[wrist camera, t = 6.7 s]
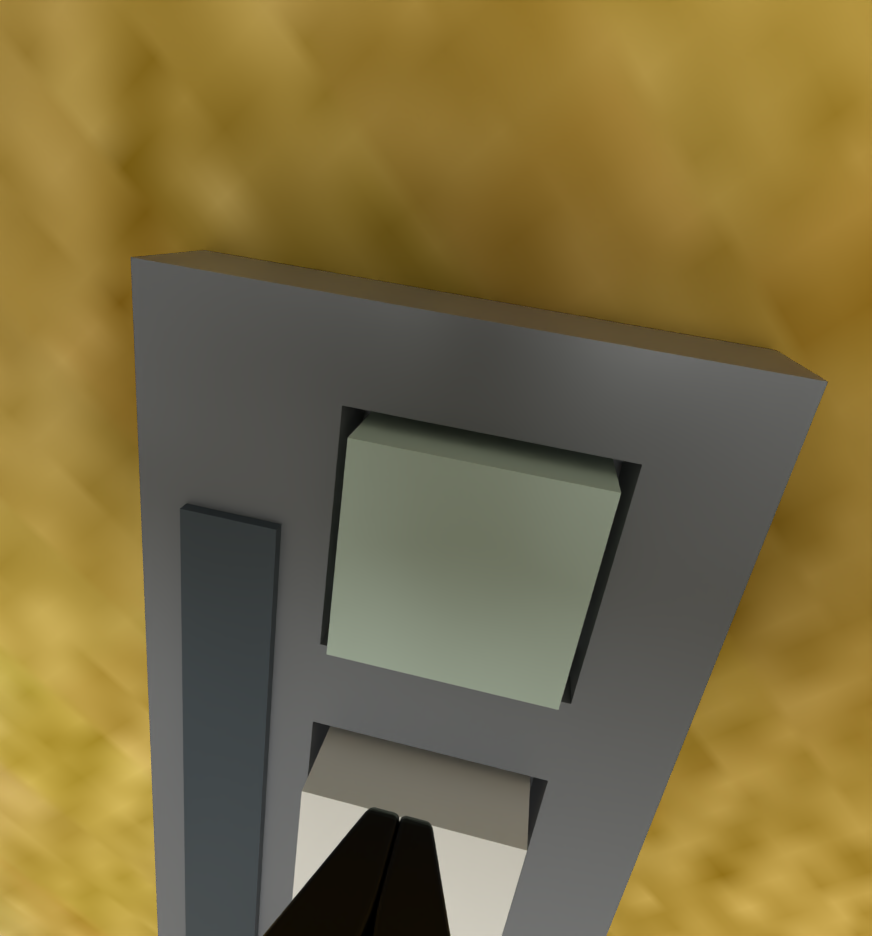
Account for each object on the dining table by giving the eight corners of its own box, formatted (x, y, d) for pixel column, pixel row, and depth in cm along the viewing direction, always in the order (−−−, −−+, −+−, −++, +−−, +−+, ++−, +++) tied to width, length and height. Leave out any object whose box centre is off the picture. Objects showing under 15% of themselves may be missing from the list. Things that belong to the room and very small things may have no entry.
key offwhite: (318, 854, 20) (289, 933, 18) (332, 720, 18) (301, 790, 16) (493, 902, 19) (485, 989, 17) (530, 769, 17) (527, 850, 15)
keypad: (201, 954, 27) (157, 1046, 24) (203, 250, 16) (121, 257, 13) (524, 1050, 26) (520, 1161, 23) (776, 350, 15) (833, 385, 12)
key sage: (355, 598, 17) (326, 654, 15) (377, 405, 15) (347, 437, 13) (558, 645, 17) (558, 710, 15) (611, 451, 15) (621, 492, 12)
